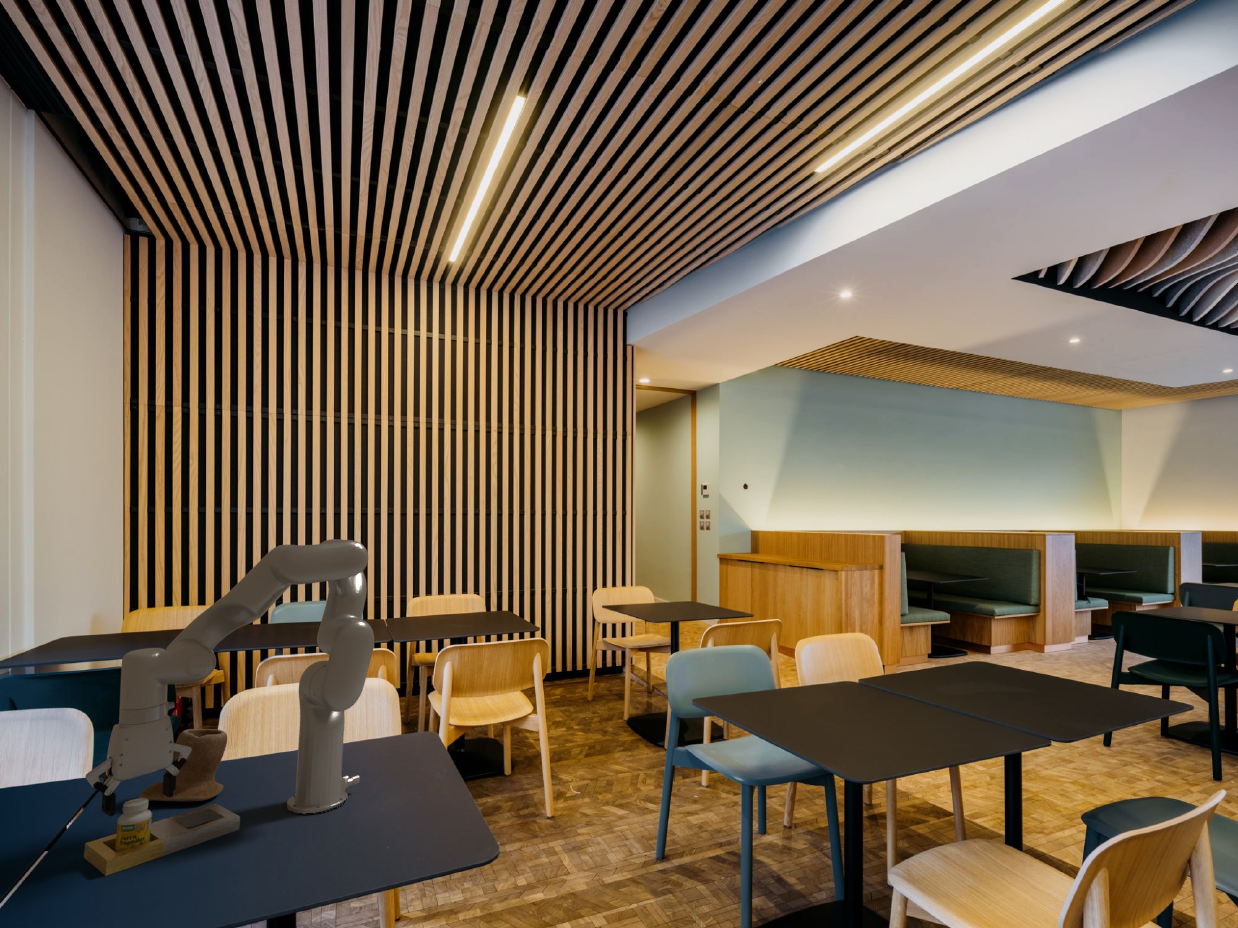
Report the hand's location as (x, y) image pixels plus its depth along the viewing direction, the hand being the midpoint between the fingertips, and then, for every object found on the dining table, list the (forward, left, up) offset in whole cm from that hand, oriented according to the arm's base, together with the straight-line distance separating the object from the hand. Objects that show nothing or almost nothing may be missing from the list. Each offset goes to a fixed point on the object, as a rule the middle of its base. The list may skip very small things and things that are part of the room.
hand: (139, 804), depth 127 cm
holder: (-5, 0, -9) cm, 10 cm away
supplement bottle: (+1, 0, -9) cm, 9 cm away
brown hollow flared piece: (-18, -21, -9) cm, 29 cm away
